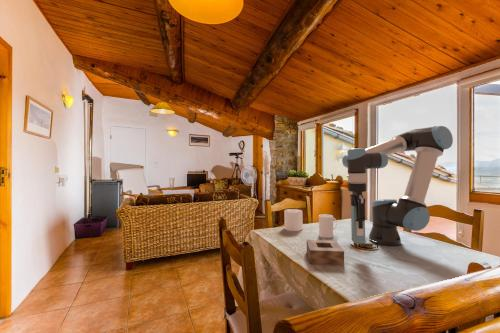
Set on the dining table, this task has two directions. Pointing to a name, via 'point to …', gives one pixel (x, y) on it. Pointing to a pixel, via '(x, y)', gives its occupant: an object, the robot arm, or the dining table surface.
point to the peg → (354, 229)
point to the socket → (325, 252)
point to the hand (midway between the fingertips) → (358, 233)
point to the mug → (326, 225)
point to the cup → (293, 220)
